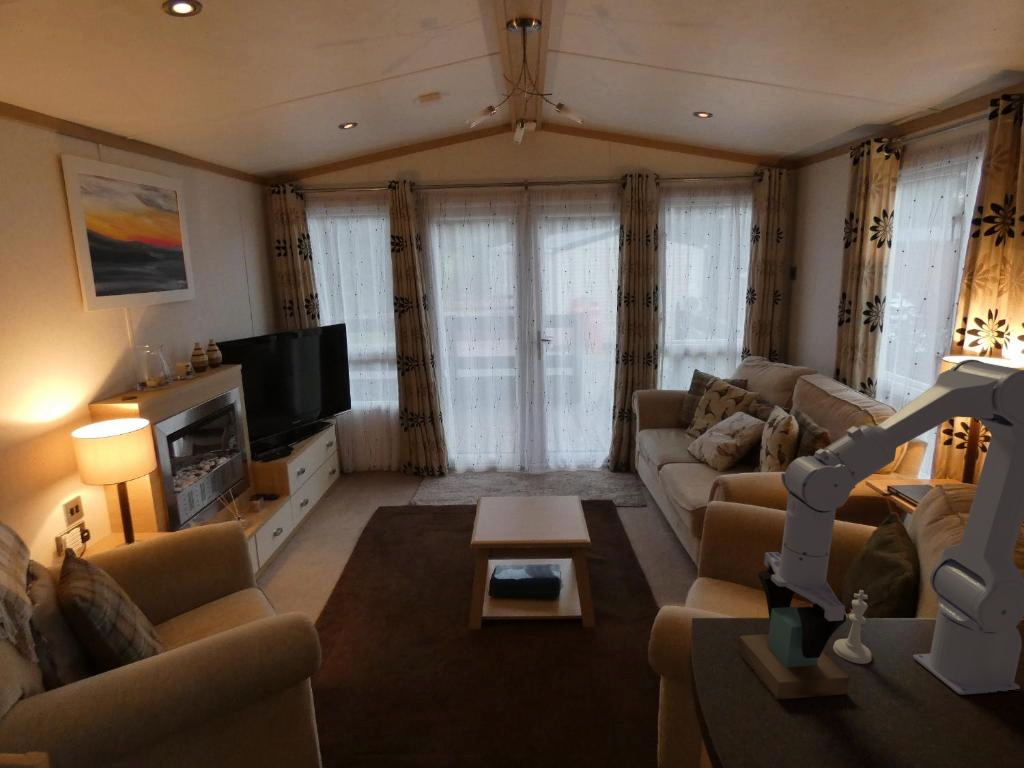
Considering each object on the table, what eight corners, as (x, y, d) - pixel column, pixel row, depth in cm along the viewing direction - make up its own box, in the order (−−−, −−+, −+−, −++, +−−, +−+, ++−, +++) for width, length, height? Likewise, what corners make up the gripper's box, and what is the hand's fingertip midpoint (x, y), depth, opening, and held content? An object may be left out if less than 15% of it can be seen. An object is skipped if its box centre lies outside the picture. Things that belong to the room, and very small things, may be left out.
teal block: (796, 644, 84) (801, 606, 83) (816, 665, 80) (822, 624, 79) (767, 646, 84) (771, 608, 83) (786, 667, 79) (791, 627, 78)
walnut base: (800, 647, 88) (802, 632, 88) (846, 694, 78) (849, 677, 78) (737, 651, 87) (739, 635, 86) (776, 699, 77) (779, 682, 76)
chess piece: (877, 666, 84) (887, 602, 82) (839, 660, 85) (849, 597, 83) (864, 645, 89) (873, 584, 87) (828, 640, 90) (837, 580, 88)
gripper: (749, 524, 85) (739, 610, 88) (813, 575, 71) (799, 675, 74) (794, 523, 86) (783, 608, 89) (865, 572, 72) (850, 671, 75)
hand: (793, 638), depth 81 cm, fingers open, 7 cm apart
